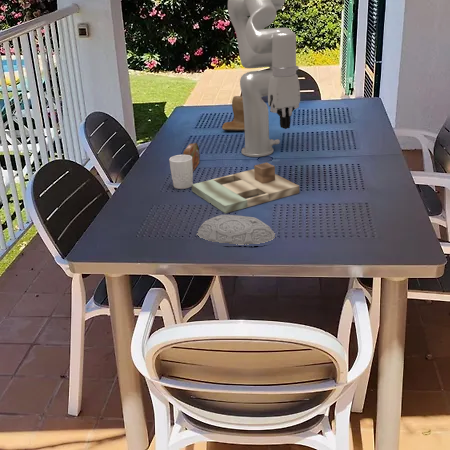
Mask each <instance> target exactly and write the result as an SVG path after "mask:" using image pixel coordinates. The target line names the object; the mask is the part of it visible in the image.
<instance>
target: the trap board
mask: <svg viewBox="0 0 450 450" xmlns="http://www.w3.org/2000/svg"><path fill="white" fill-rule="evenodd" d="M191 192H193V193H194V194H195V195H197V196H198V197H200V198H201V199H203V200H205V202H207V203H209V204H210V203H211V204H210V205H212V206H214V207H215V208H216V209H218V210H219V211H221V212H222V213H223V214H228V213H232V212H236V211H239V210H242V209H243V210H244V209H245V208H250V207H253V206H257V205H261V204H265V203H268V202H272V201H275V200H279V199H283V198H286V197H291V196H293V195H297V194H299V193H300V185H299V184H296V183H295V182H293V181H290V180H288V179H286V178H284V177H282V176H280V175H278V174H276V173H275V181H271V182H267V183H263V184H262V183H260V182H259V181H257V180H255V174H254V168H253V169H249V170H245V171H241V172H237V173H232V174H229V175H224V176H221V177H216V178H213V179H207V180H205V181H200V182H196V183H193V184H192V186H191Z"/></svg>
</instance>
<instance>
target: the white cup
mask: <svg viewBox="0 0 450 450" xmlns="http://www.w3.org/2000/svg"><path fill="white" fill-rule="evenodd" d="M168 162H169V166H170V167H169V168H170V173H171V180H172V185H173V188H175V189H178V190H184V189H189V188H192V184H194V181H193V178H194V177H193V176H194V173H193V172H194V171H193V165H192V156H190V155H183V154H177V155H173V156H171V157H170V158H169V159H168Z"/></svg>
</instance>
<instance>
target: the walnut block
mask: <svg viewBox="0 0 450 450" xmlns="http://www.w3.org/2000/svg"><path fill="white" fill-rule="evenodd" d="M253 169H254V174H255V180H257V181H259V182H260V183H262V184H263V183H267V182H271V181H275V174H276V166H275V165H274V164H272V163H269V162H262V163H258V164H255V165H254V166H253Z"/></svg>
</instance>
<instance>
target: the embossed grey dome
mask: <svg viewBox="0 0 450 450" xmlns="http://www.w3.org/2000/svg"><path fill="white" fill-rule="evenodd" d="M197 232H198V233H197ZM197 232H196V236H197V235H198V236H199V237H200V238H203V239H205V240H208V241H212V242H219V243H229V244H236V245H237V244H238V245H244V244H245V245H246V244H247V245H249V244H260V243H265V242H268V241H271V240H273V239H274V238H275V234H276V232H275V231H274V230H273V229H272V228H271V226H269V225H268V224H266V223H265V222H263V221H262V220H261V219H258V218H257V217H252V216H243V215H235V214H233V215H232V214H220V215H217V216H214V217H211V218H209V219H206V220H205V221H204V222H203V223H202V224H201V225H200V227H199V228H198V230H197ZM274 232H275V233H274Z"/></svg>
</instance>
